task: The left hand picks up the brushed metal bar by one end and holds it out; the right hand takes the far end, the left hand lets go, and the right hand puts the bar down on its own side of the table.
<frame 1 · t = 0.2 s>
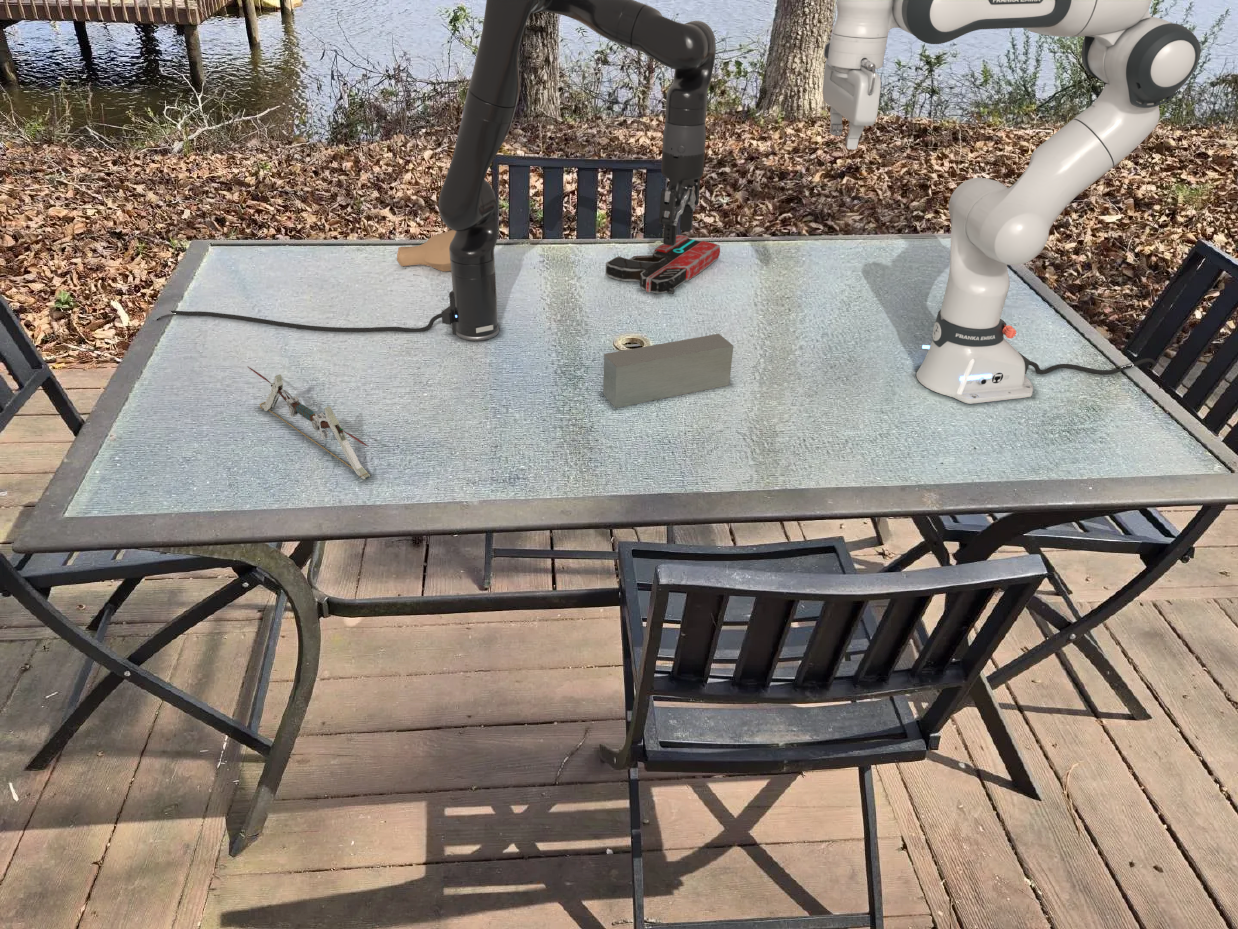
left hand: (677, 237, 164), 28 cm above the table, tool pointing down, fingers open, 8 cm apart
right hand: (842, 141, 151), 47 cm above the table, tool pointing down, fingers open, 8 cm apart
bow: (312, 441, 154), on the table
squash: (437, 267, 224), on the table
bar: (667, 389, 173), on the table
gun: (664, 270, 226), on the table
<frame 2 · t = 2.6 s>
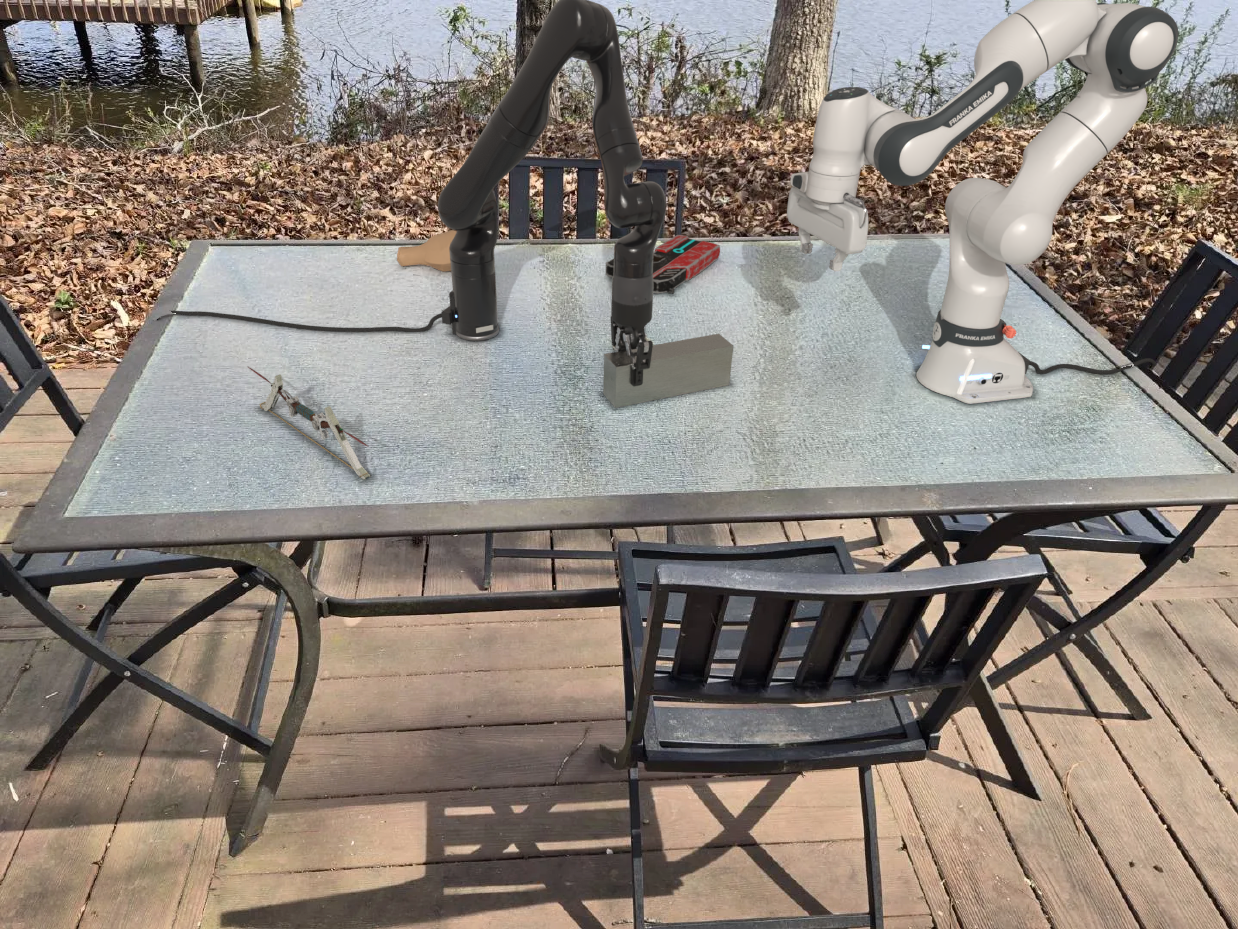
left hand: (629, 377, 168), 4 cm above the table, tool pointing down, fingers closed on bar, 6 cm apart
right hand: (820, 261, 163), 26 cm above the table, tool pointing down, fingers open, 8 cm apart
bar: (667, 389, 173), on the table, touching left hand
everything else where it was.
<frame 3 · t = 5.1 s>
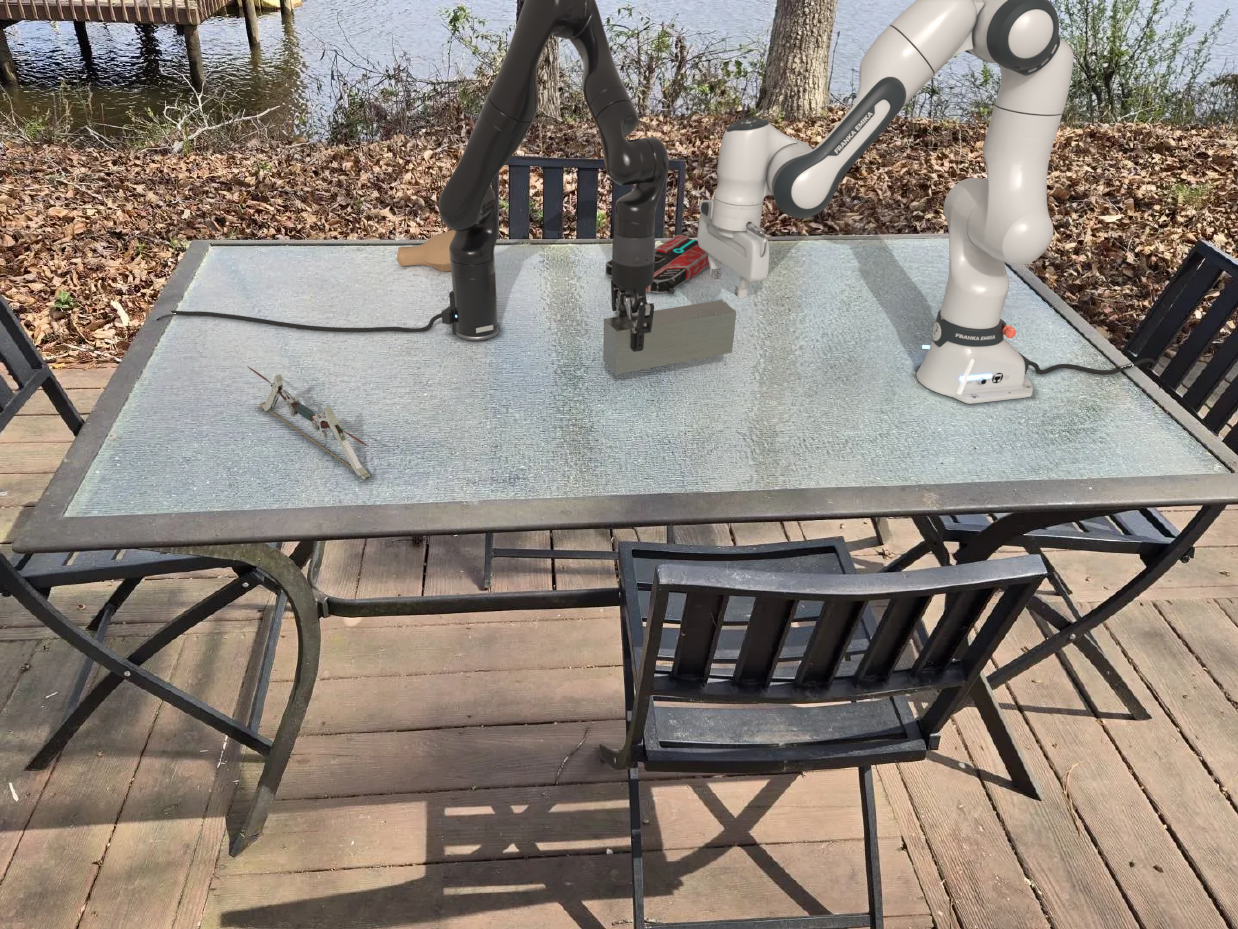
left hand: (630, 342, 164), 12 cm above the table, tool pointing down, fingers closed on bar, 6 cm apart
right hand: (727, 287, 165), 20 cm above the table, tool pointing down, fingers open, 8 cm apart
bar: (668, 356, 169), point 7 cm above the table, touching left hand
everything else where it was.
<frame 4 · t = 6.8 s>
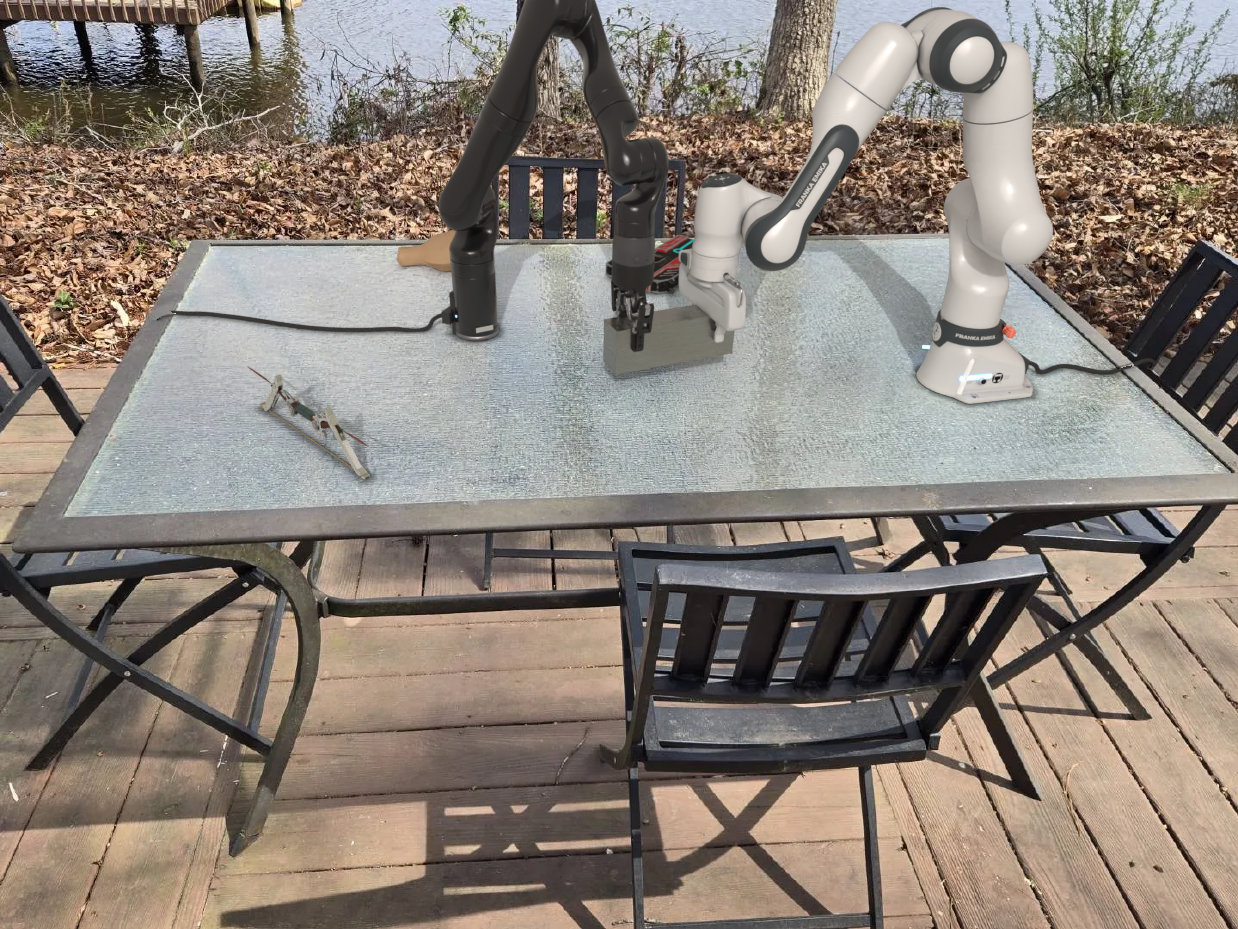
left hand: (630, 343, 164), 12 cm above the table, tool pointing down, fingers closed on bar, 6 cm apart
right hand: (708, 332, 170), 11 cm above the table, tool pointing down, fingers closed on bar, 6 cm apart
bar: (668, 357, 169), point 7 cm above the table, touching left hand, right hand
everything else where it was.
when the left hand's fingers open (12 cm above the table, at t = 7.9 s): bar stays where it is, held by the right hand.
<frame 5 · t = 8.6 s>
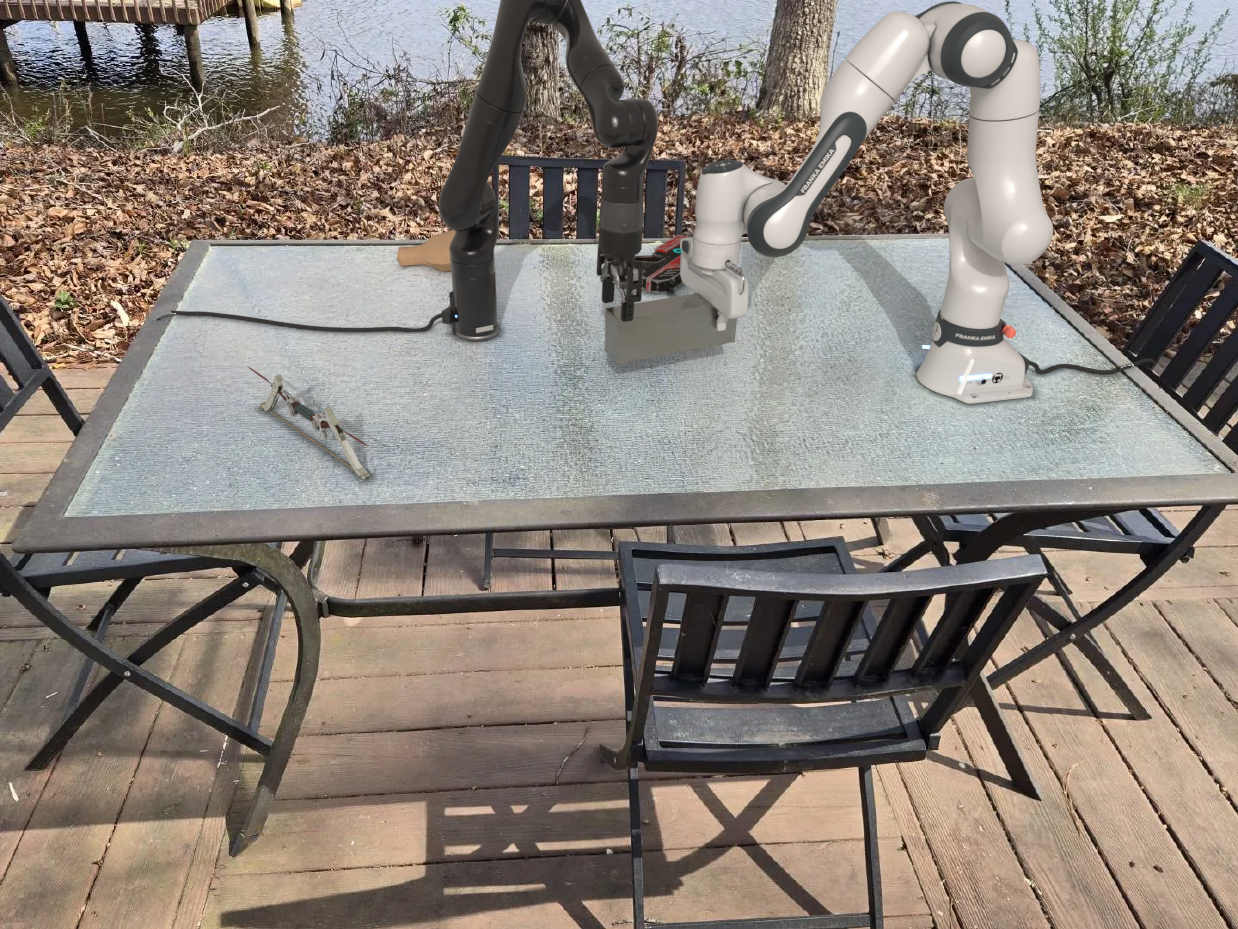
left hand: (617, 311, 159), 19 cm above the table, tool pointing down, fingers open, 8 cm apart
right hand: (710, 321, 169), 13 cm above the table, tool pointing down, fingers closed on bar, 6 cm apart
bar: (670, 346, 168), point 9 cm above the table, touching right hand
everything else where it was.
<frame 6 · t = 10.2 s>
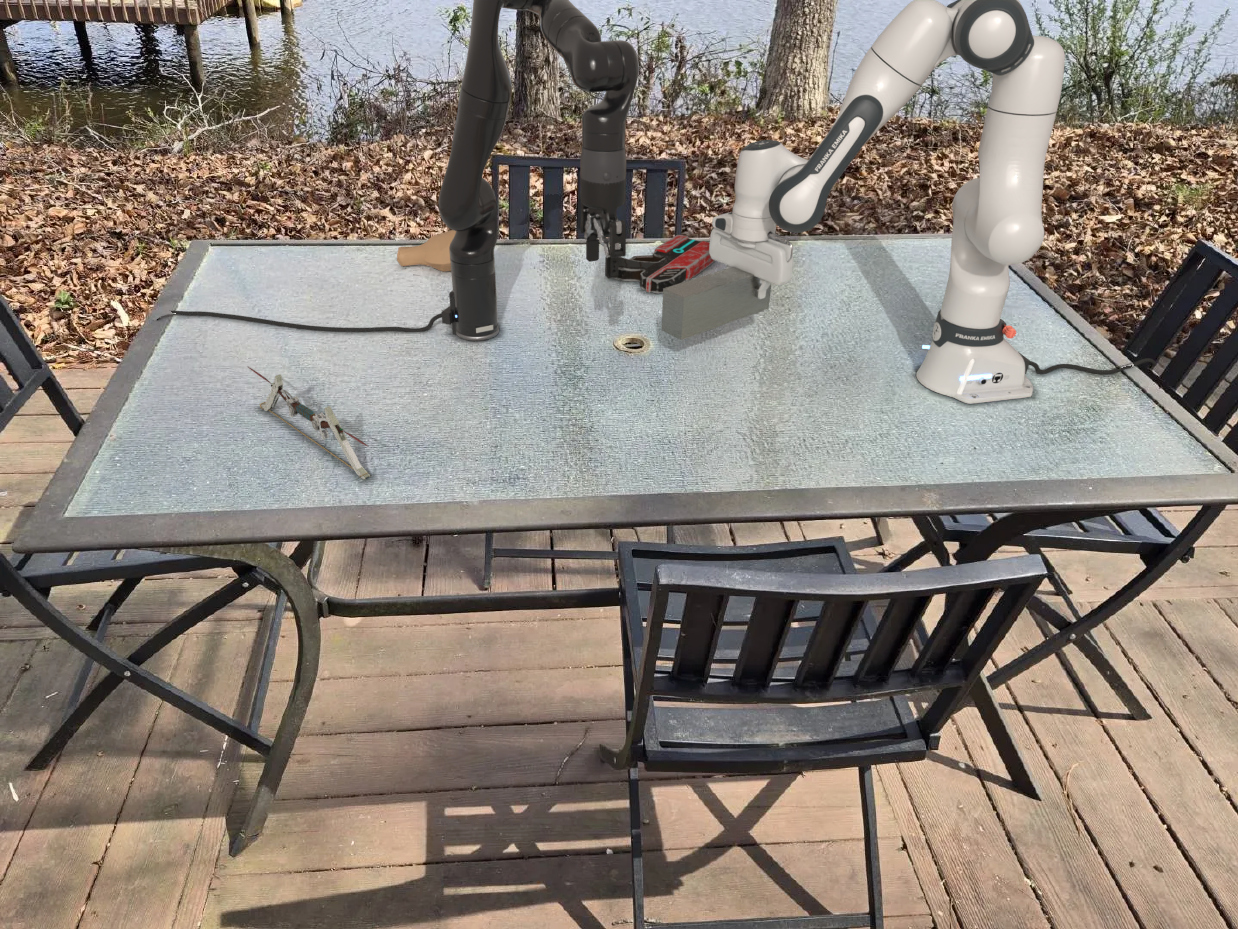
left hand: (601, 268, 153), 27 cm above the table, tool pointing down, fingers open, 8 cm apart
right hand: (746, 291, 181), 13 cm above the table, tool pointing down, fingers closed on bar, 6 cm apart
bar: (716, 319, 178), point 10 cm above the table, touching right hand
everything else where it was.
when the right hand's fingers open (5 cm above the table, at t = 13.7 s): bar stays where it is, on the table.
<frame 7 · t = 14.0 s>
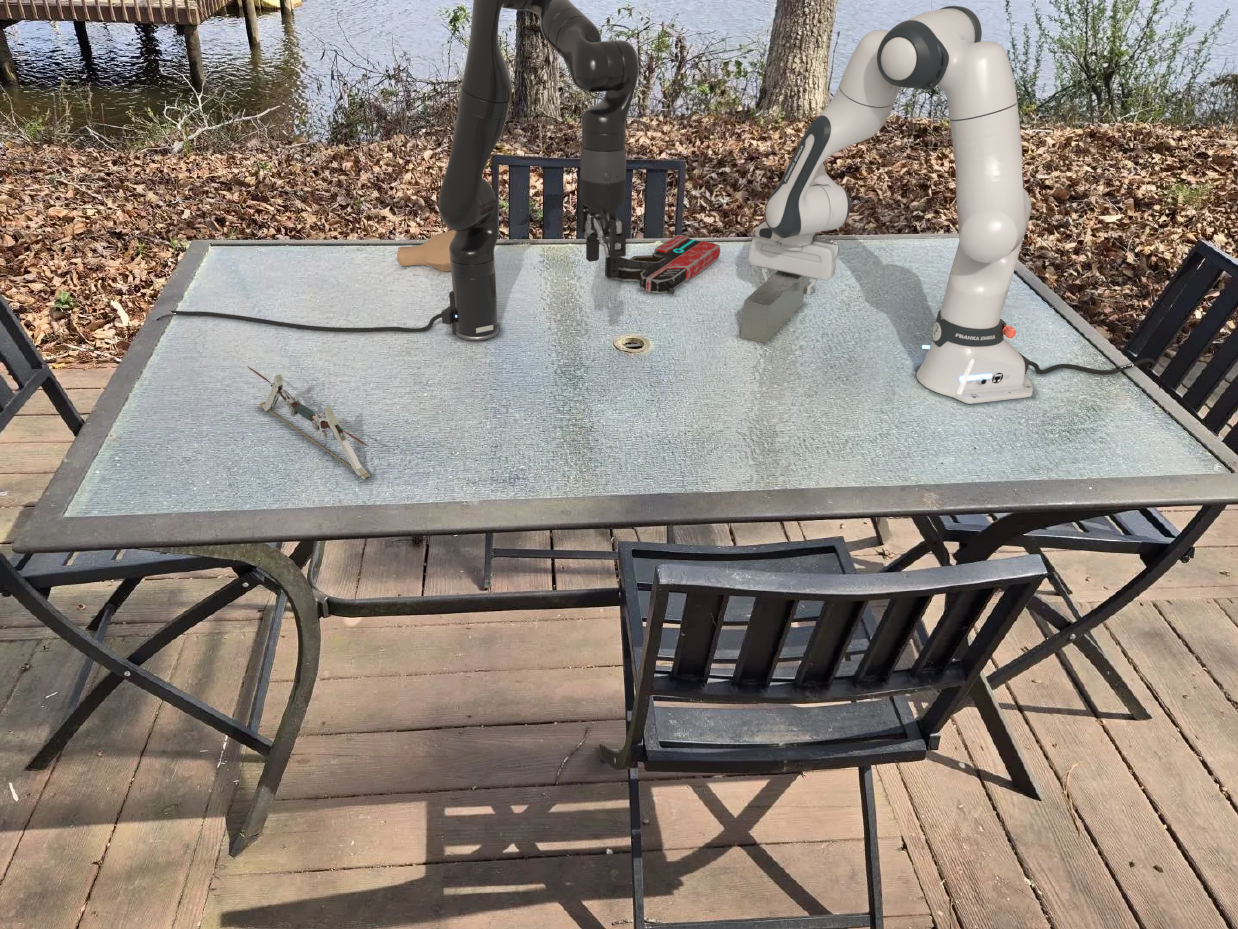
left hand: (601, 268, 153), 27 cm above the table, tool pointing down, fingers open, 8 cm apart
right hand: (787, 289, 206), 5 cm above the table, tool pointing down, fingers open, 8 cm apart
bar: (772, 320, 202), on the table
everything else where it was.
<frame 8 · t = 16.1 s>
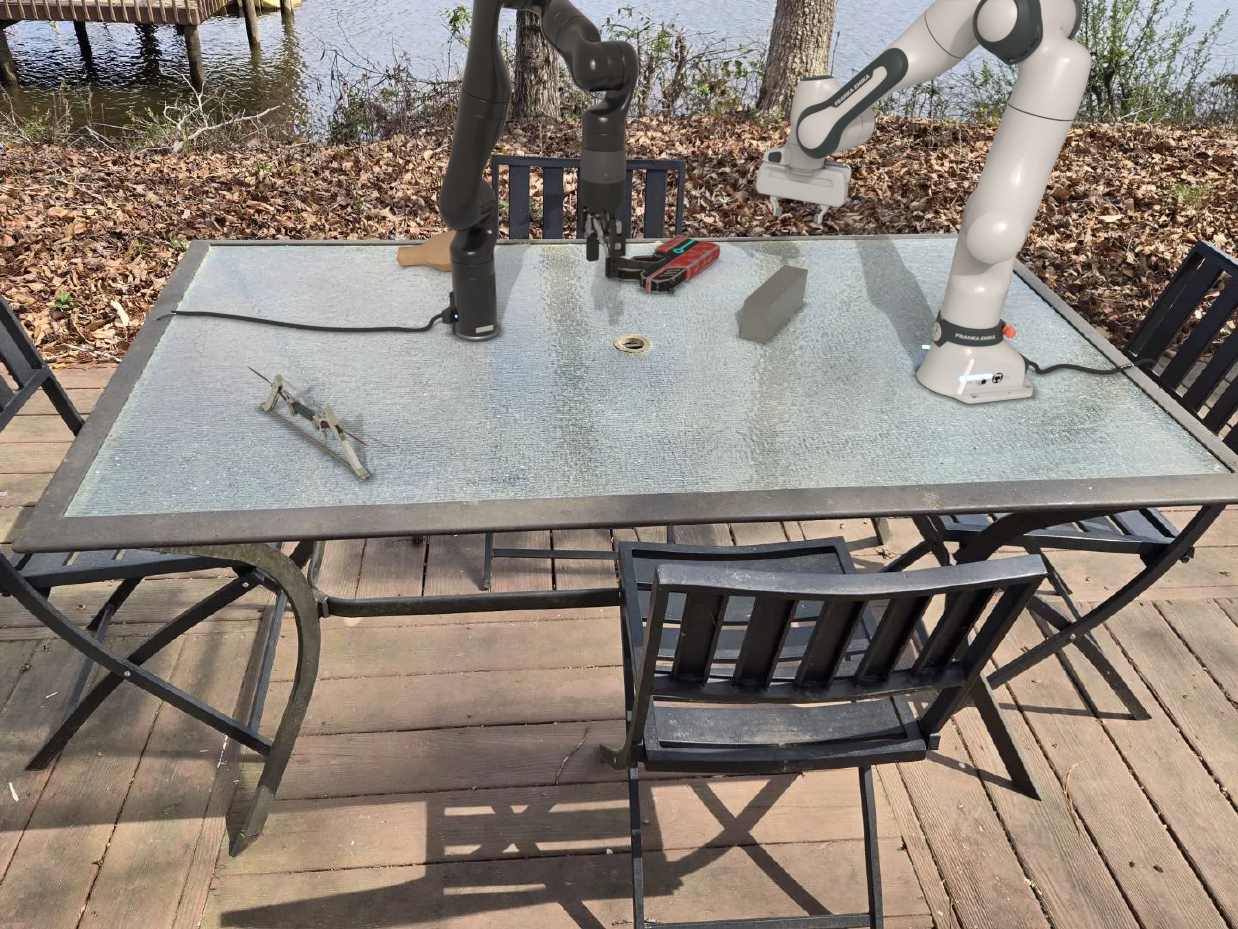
left hand: (601, 268, 153), 27 cm above the table, tool pointing down, fingers open, 8 cm apart
right hand: (797, 219, 196), 21 cm above the table, tool pointing down, fingers open, 8 cm apart
nothing on the table moved.
at the end: bar inside the target area (8.3 cm from its centre), on the table; the left hand is holding nothing; the right hand is holding nothing; bar at rest at the end (0.0 cm/s) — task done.
